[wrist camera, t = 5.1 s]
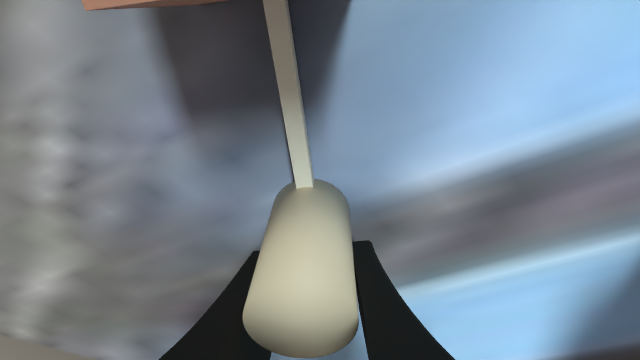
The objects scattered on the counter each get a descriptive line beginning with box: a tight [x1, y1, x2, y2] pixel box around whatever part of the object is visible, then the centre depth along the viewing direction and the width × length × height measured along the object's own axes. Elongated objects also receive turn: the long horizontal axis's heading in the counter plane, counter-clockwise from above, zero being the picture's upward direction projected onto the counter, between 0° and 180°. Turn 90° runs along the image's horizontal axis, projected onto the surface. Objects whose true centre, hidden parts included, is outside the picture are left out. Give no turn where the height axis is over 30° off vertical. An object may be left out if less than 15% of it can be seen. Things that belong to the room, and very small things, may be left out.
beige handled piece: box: [82, 0, 359, 358], centre depth 8 cm, size 4×14×5 cm, turn 7°
